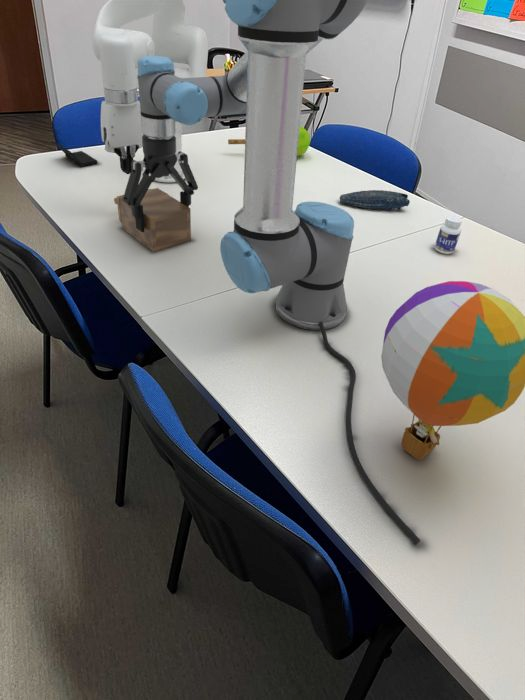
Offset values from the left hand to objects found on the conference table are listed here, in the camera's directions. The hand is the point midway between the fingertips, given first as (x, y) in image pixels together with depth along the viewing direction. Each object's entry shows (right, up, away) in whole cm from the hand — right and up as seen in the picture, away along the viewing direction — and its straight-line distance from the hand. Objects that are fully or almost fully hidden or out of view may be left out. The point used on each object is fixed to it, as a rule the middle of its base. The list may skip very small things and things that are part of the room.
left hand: (127, 172), depth 134 cm
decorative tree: (+37, +25, +55) cm, 71 cm away
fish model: (+69, -2, +26) cm, 74 cm away
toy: (+60, -62, -51) cm, 100 cm away
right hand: (+10, -14, -4) cm, 18 cm away
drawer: (+3, -12, +3) cm, 13 cm away
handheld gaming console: (-26, +16, +37) cm, 48 cm away
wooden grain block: (+7, -16, +1) cm, 18 cm away
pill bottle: (+84, -19, +6) cm, 86 cm away
